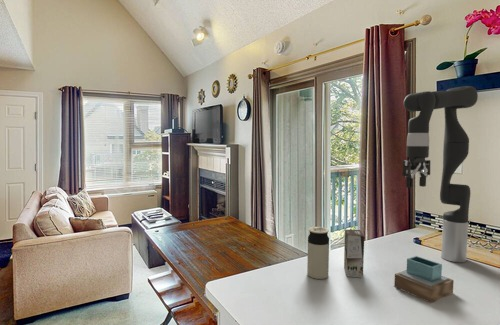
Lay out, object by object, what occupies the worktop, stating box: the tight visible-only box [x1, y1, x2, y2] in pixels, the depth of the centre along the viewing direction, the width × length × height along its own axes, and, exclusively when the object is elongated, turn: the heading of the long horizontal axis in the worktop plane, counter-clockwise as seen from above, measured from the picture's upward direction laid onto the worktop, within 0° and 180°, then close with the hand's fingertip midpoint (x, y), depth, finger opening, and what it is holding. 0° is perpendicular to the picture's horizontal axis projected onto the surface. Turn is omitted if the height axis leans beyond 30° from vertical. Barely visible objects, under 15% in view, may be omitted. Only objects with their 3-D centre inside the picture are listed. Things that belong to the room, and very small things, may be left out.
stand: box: [393, 269, 454, 304], centre depth 107 cm, size 13×13×5 cm
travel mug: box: [306, 226, 330, 280], centre depth 118 cm, size 8×8×18 cm
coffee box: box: [343, 228, 366, 279], centre depth 120 cm, size 9×6×16 cm
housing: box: [406, 255, 443, 282], centre depth 106 cm, size 9×6×5 cm, turn 30°
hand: (416, 187), depth 118 cm, fingers open, 8 cm apart
